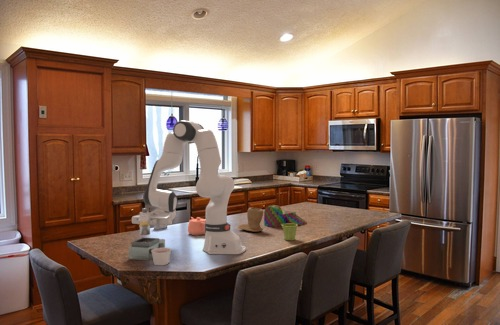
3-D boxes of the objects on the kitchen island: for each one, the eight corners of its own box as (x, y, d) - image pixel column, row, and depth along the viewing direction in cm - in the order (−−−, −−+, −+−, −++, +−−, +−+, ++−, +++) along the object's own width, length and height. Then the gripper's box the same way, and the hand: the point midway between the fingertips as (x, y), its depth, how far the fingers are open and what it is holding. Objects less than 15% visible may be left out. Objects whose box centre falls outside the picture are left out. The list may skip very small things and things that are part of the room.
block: (282, 229, 260) (282, 207, 259) (264, 225, 272) (264, 205, 272) (306, 224, 277) (306, 203, 276) (288, 220, 289) (288, 201, 289)
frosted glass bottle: (151, 233, 199) (151, 207, 199) (147, 235, 194) (146, 209, 194) (143, 233, 200) (142, 207, 200) (138, 235, 196) (137, 208, 195)
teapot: (196, 237, 236) (195, 220, 236) (183, 232, 251) (183, 216, 251) (213, 235, 243) (212, 218, 242) (199, 230, 258) (199, 214, 257)
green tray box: (166, 250, 207) (165, 236, 206) (149, 260, 189) (148, 244, 189) (147, 249, 209) (147, 235, 209) (129, 259, 192) (129, 243, 192)
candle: (167, 266, 179) (166, 252, 179) (148, 265, 181) (148, 252, 180) (174, 261, 188) (174, 247, 188) (156, 260, 190) (156, 247, 189)
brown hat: (267, 231, 254) (267, 207, 253) (254, 234, 245) (254, 209, 245) (250, 227, 264) (250, 205, 264) (237, 230, 256) (237, 207, 255)
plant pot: (278, 239, 230) (278, 224, 230) (289, 237, 236) (289, 222, 236) (289, 242, 223) (289, 227, 223) (301, 239, 229) (301, 224, 229)
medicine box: (163, 226, 270) (163, 214, 270) (167, 227, 267) (167, 214, 267) (153, 228, 264) (153, 215, 263) (158, 229, 261) (157, 216, 261)
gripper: (139, 211, 212) (125, 215, 199) (174, 212, 207) (162, 216, 194) (139, 223, 212) (125, 228, 199) (174, 224, 207) (162, 229, 194)
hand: (143, 222), depth 196 cm, fingers closed on frosted glass bottle, 5 cm apart
